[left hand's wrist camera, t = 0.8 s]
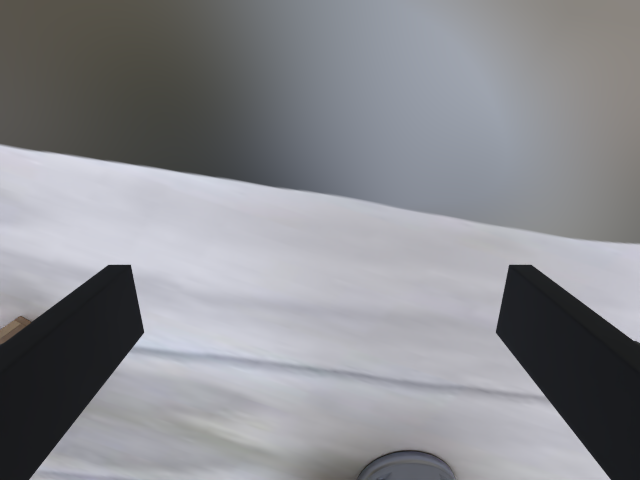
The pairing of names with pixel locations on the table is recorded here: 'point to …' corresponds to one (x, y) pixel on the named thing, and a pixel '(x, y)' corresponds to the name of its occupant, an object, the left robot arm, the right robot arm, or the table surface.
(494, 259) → the table surface
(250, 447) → the table surface
